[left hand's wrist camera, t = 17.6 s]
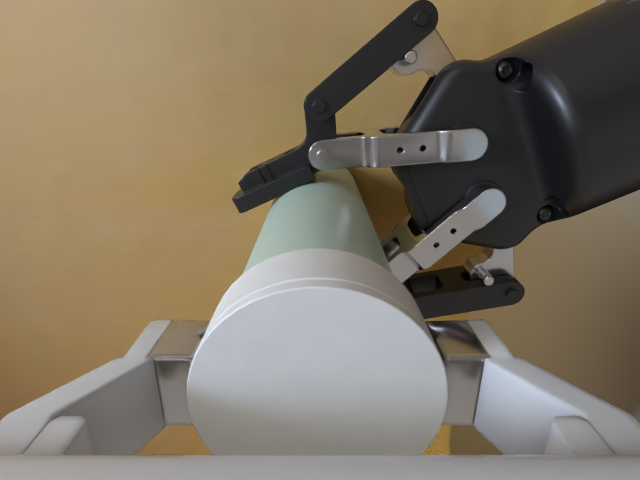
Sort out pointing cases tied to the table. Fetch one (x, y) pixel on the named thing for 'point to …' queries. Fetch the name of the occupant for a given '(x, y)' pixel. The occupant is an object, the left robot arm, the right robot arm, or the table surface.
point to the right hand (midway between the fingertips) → (268, 252)
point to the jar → (320, 221)
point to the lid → (317, 362)
